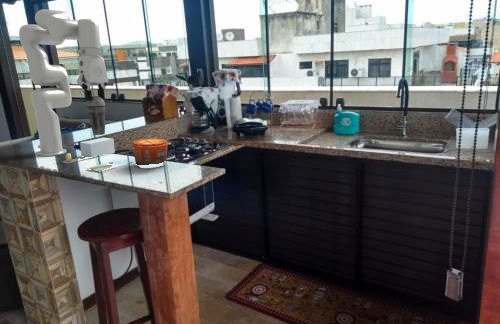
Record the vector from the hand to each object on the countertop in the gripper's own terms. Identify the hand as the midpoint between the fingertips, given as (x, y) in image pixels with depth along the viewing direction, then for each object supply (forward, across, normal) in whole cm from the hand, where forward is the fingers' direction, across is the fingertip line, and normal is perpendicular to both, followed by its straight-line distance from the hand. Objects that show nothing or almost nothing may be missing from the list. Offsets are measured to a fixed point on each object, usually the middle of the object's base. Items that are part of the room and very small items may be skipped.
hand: (95, 99), depth 147 cm
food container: (+29, +14, -14) cm, 36 cm away
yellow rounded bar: (+29, +4, +22) cm, 37 cm away
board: (+29, +4, 0) cm, 29 cm away
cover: (+29, +18, +22) cm, 40 cm away
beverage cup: (+14, 0, 0) cm, 14 cm away
